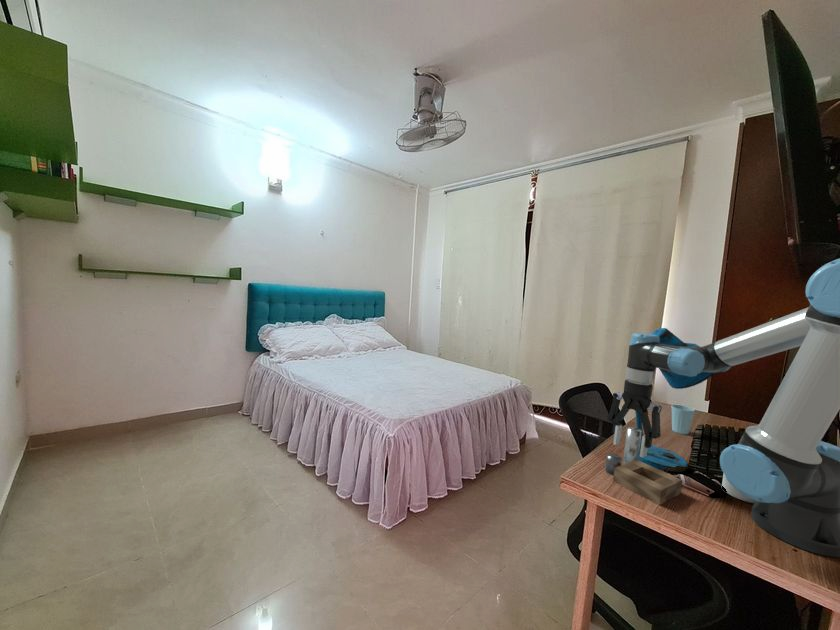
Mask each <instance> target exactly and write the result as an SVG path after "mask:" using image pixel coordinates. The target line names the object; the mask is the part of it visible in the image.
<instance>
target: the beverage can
mask: <svg viewBox="0 0 840 630" xmlns="http://www.w3.org/2000/svg"><path fill="white" fill-rule="evenodd" d="M722 474H723V475H722V482H721V487H722V486H723V487H724V488H725V489H726V491H727V492H726V493H727V494H728V495H730V496H731V497H733V498H735V499H737V500H740V501H743V502H746V503H751V504H754V503H755V502H756V500H753V499H751V498H749V497H747V496H745V495H743V494H742V493H740V492H739V491H738V490H737V489H735V488H734V487H733V486H732V485H731V484H730V482H729V481H728V480H727V479H726V477H725V474H724V472H723V473H722Z"/></svg>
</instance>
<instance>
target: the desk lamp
mask: <svg viewBox="0 0 840 630" xmlns="http://www.w3.org/2000/svg"><path fill="white" fill-rule="evenodd" d="M650 334H653V335H657V336H659V338H660V340H659V341H660V343H662V344H666V345H672V346H683V347H700V346H699V345H698V344H696V343H690V342H684V341H683V340H681V339H680V338H679V337H678V336H676V334H674V333H673V332H672V331H671V330H669V329H668V328H666V327H662V328H658V329H655V330H654V331H652V332H651V333H650ZM658 369H659V371H660V373H662V376H663V377H664V379H665V381H666V382H667V383H668V384H669V386H670V387H671V388H673V389H676V390H682V389H688V388H691V387H695V386H698V385H700V384H702V383H704V382H705V381H707V380H709V379H710V378H711V377H712V376H713V375H715V373H709V372H701V373H699V374H697V375H696V376H692V377H691V376H685V375H679V374H676V373H673V372H670V371H666V370H663V369H660V368H658ZM634 411H635V410H634ZM634 414H635V425H636V428H638V429H640V430H641V431H642V432H641V441H640V450H641V443H642V436H644V429H643V425H642V422H641V418H640V415H639V414H638V412H637V411H635V413H634ZM640 450H639V461H641V462H643V463H645V464H648V465H650V466H652V467H654V468H657V469H659V470H661V471H663V470H664V469H665V468H668V467H676V466H680V467H687V468H688V462H687V460H686V459H685V458H684V457H682V456H681V455H680V454H677V453H675V452H674V451H671V450H668V449H665V448H663V447H660V446H655V445H651V447H650V448H648V450H647V456H645V457H640Z"/></svg>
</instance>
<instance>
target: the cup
mask: <svg viewBox="0 0 840 630" xmlns="http://www.w3.org/2000/svg"><path fill="white" fill-rule="evenodd" d="M670 406H671V431H673V432H675V433H677V434H680V435H689V433H690V429H691V426H692V423H693V419H694V415H695V411H696V410H695V409H694V408H691V407H689V406H686V405H682V404H681V405H680V404H671V405H670Z"/></svg>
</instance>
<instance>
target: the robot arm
mask: <svg viewBox="0 0 840 630" xmlns="http://www.w3.org/2000/svg"><path fill="white" fill-rule="evenodd" d="M805 297H806V298H807V300H808V302H809V306H808V307H806V308H802V309H800V310H798V311H794V312H792V313H790V314H787V315H784V316H782V317H779V318H776V319H773V320H771V321H769V322H765V323H762V324H759V325H757V326H754V327H751V328H749V329H746V330H744V331H741V332H739V333H736V334H733V335H729V336H728V337H725V338H722V339H719V340H717V341H714V342H712V343H709V344H706V345H703V346H699V347H683V346H672V345H666V344H662V343H660V341H659V340H660V338H659V336H657V335H653V334H651V333H645V332H634V333H632V334H631V336H630V342H629V344H628V354H627V355H628V356H627V364H626V369H625V376H624V378H625V380H624V384H623V392H622V393H621V392H614V393H612V403H611V406H610V409H609V412H608V416H607V421H609V422H611V423H612V430H611V431H612V434H614V435H613V443H612V445H614V446H617V445H620V444H621V438H622V431H623V424H622V421H623V420H624V418H625V417H626V415H627V414H628V412H629V411H631V410H634V411H637V412H638V414H639V415H640V418H641V422H642V430H643V434H644V435H643V436H642V443H641V450H640V457H645V456H647V450H648V448H650V447H651V445H652V444H653V440H656V439H659V438H661V412H662V409H663V407H662V406H661V405H657V404H655V403H653V402H652V395H653V389H654V385H653V384H654V381H655V371H656V369H659V368H660V369H663V370H666V371H670V372H673V373H676V374H679V375H685V376H691V377H692V376H696V375H697V374H699V373H701V372H709V373H714V374H716V373H721V372H722V373H724V372H727V371H729V370H730V369H731V367H734V366H737V365H741V364H744V363H747V362H750V361H755V360H758V359H761V358H764V357H767V356H771V355H774V354H777V353H781V352H785V351H787V350H792V349H795V348H798V347H799V349H798V351H797V353H796V354H795V357H794V358H793V360H792V362H791V364H790V366H789V367H788V370H787V371H786V373H785V376H784V377H783V379H782V381H781V383H780V385H779V386H778V388H777V390H776V392H775V394H774V396H773V398H772V399H771V402H770V403H769V406H768V407H767V409H766V411H765V413H764V415H763V417H762V419H761V420H760V422H759V424H757V425H750V426H748V427H746V428H745V430H744V432H743V434H742V436H741V437H740V440H739V441H738V443H737V444H736V443H735V444H731V445H729V446H728V447H726V448H724V449H723V450H722V451H721V453H720V456H719V464H720V465H719V466H720V469H721V471H722V472H723V473H724V474H725V477H726V479H727V480H728V481H729V482H730V484H731V485H732V486H733V487H734V488H735V489H737V490H738V491H739V492H740V493H742V494H743V495H745V496H747V497H749V498H751V499H753V500H756V502H755V503H753V505H752V506H751V513H750V517H751V519H752V521H753V522H754V523H755V524H756V525H758V526H759V527H760V528H761V529H763V530H764V531H766V532H767V533H768V534H771V536H773V537H775V538H777V539H779V540H781V541H783V542H785V543H787V544H789V545H792V546H794V547H797V548H799V549H802V550H805V551H807V552H810V553H814V554H816V555H817V554H818V555H822V556H825V557H830V558H840V447H839V446H837V445H834V444H832V443H829V442H825V441H823V440H822V439H823V438H824V436H825V434H826V433H827V431H828V429H829V428H830V425H831V424H832V422H833V421H834V419H835V417H836V416H838V415H837V414H839V412H840V258H837V259H835V260H831V261H830V262H828V263H825V264H824V265H821V267H819V268H818V269H817V270H815V272H813V274H812V275H811V276H810V277H809V279H808V281H807V283H806V285H805ZM660 369H659V370H660ZM621 400H623V402H624V403H623V405H622V406H621V409H620V410H619V407H620V405H621ZM649 407H650V411H651V419H650V418H649V411H648V409H649ZM618 411H619V412H618ZM650 420H651V421H650ZM652 446H653V445H652Z"/></svg>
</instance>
